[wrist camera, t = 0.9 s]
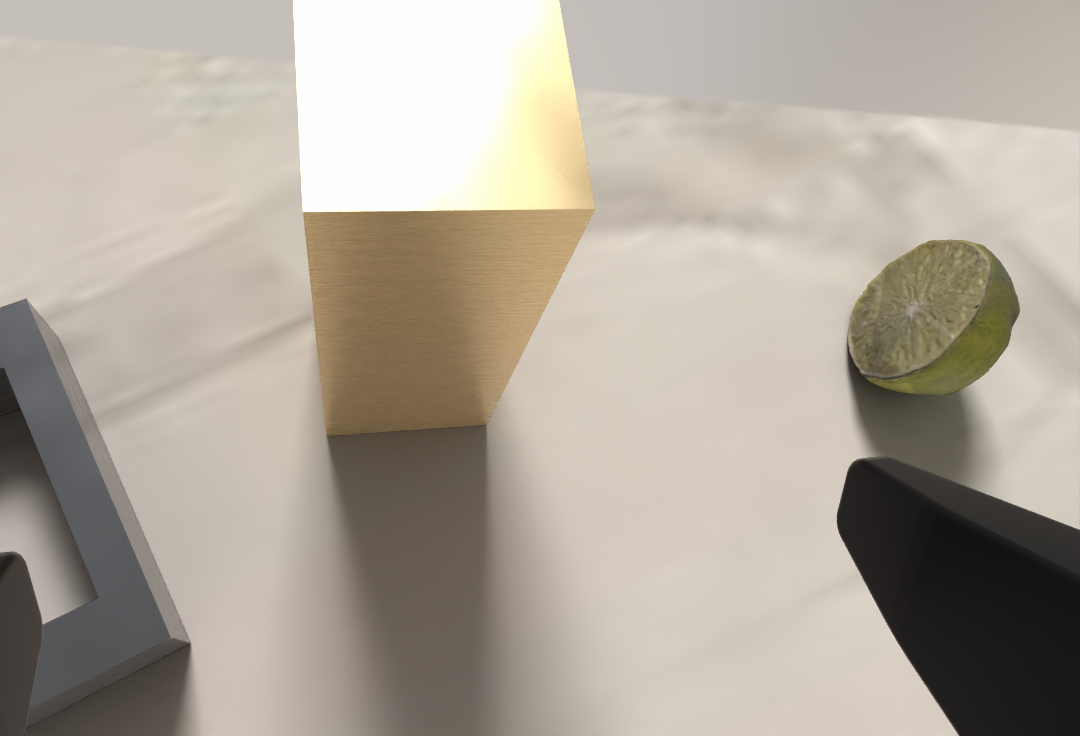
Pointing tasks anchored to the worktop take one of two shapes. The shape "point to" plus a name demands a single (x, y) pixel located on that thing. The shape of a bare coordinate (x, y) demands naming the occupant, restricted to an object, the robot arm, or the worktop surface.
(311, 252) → the brass post
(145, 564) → the dark gray rack frame
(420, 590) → the worktop surface
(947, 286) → the lime
